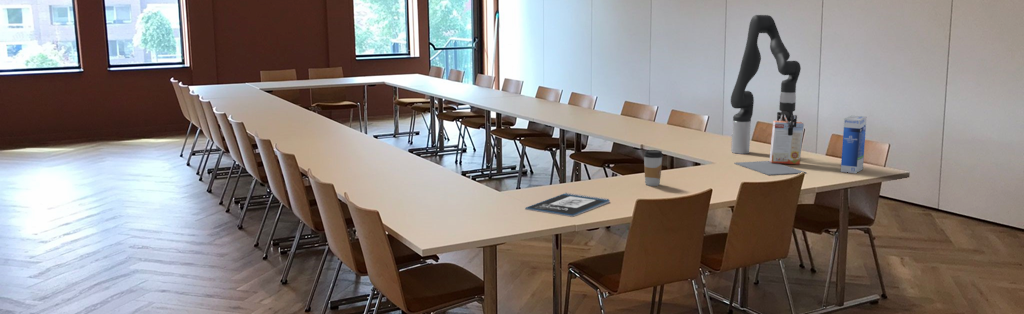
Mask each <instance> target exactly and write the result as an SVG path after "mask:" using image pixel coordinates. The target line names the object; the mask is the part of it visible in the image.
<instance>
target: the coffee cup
mask: <svg viewBox="0 0 1024 314" xmlns="http://www.w3.org/2000/svg"><path fill="white" fill-rule="evenodd" d="M662 152H663V151H662V150H659V149H647V150H644V153H643V161H644V162H643V163H644V183H645V185H646V186H649V187H657V186H660V184H661V177H662V176H661V175H662V163H663V157H664V156H663V153H662Z"/></svg>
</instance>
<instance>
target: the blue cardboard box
mask: <svg viewBox="0 0 1024 314" xmlns="http://www.w3.org/2000/svg"><path fill="white" fill-rule="evenodd" d="M843 120H844V121H843V133H842V147H841V148H842V149H841V161H840V162H841V163H840V164H841V165H840V172H841V173H847V172H848V173H849V174H858V173H859V172H861V171H862V170H863V169H864V159H865V158H864V156H865V145H866V144H865V143H866V129H867V116H862V115H849V116H848V117H845V118H843ZM857 172H858V173H857Z"/></svg>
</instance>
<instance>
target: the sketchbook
mask: <svg viewBox="0 0 1024 314" xmlns="http://www.w3.org/2000/svg"><path fill="white" fill-rule="evenodd" d="M610 202H611V201H610V199H609V198H605V197H601V198H600V197H597V196H591V195H585V194H584V195H582V194H580V195H579V194H576V193H571V192H570V193H569V192H565V193H562V194H559V195H556V196H554V197H551V198H549V199H546V200H543V201H540V202H537V203H534V204H531V205H529V206H526V207H524V210H528V211H535V212H540V213H548V214H551V215H560V216H565V217H575V216H578V215H581V214H583V213H586V212H588V211H591V210H593V209H597V208H599V207H601V206H604V205H607V204H609V203H610Z"/></svg>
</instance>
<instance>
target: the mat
mask: <svg viewBox="0 0 1024 314" xmlns="http://www.w3.org/2000/svg"><path fill="white" fill-rule="evenodd" d="M734 165H737V166H740V167H742V168H743V167H744V168H745V169H748V170H751V171H755V172H758V173H761V174H763V175H767V176H780V175H781V176H782V175H786V176H787V175H799V174H798V173H801V172H805V173H804V174H807V172H806V171H804V170H800V169H797V168H794V167H791V166H787V165H786V164H785V165H784V164H783V163H771V162H770V160H761V161H757V160H756V161H745V162H744V161H743V162H742V161H740V162H734Z"/></svg>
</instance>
